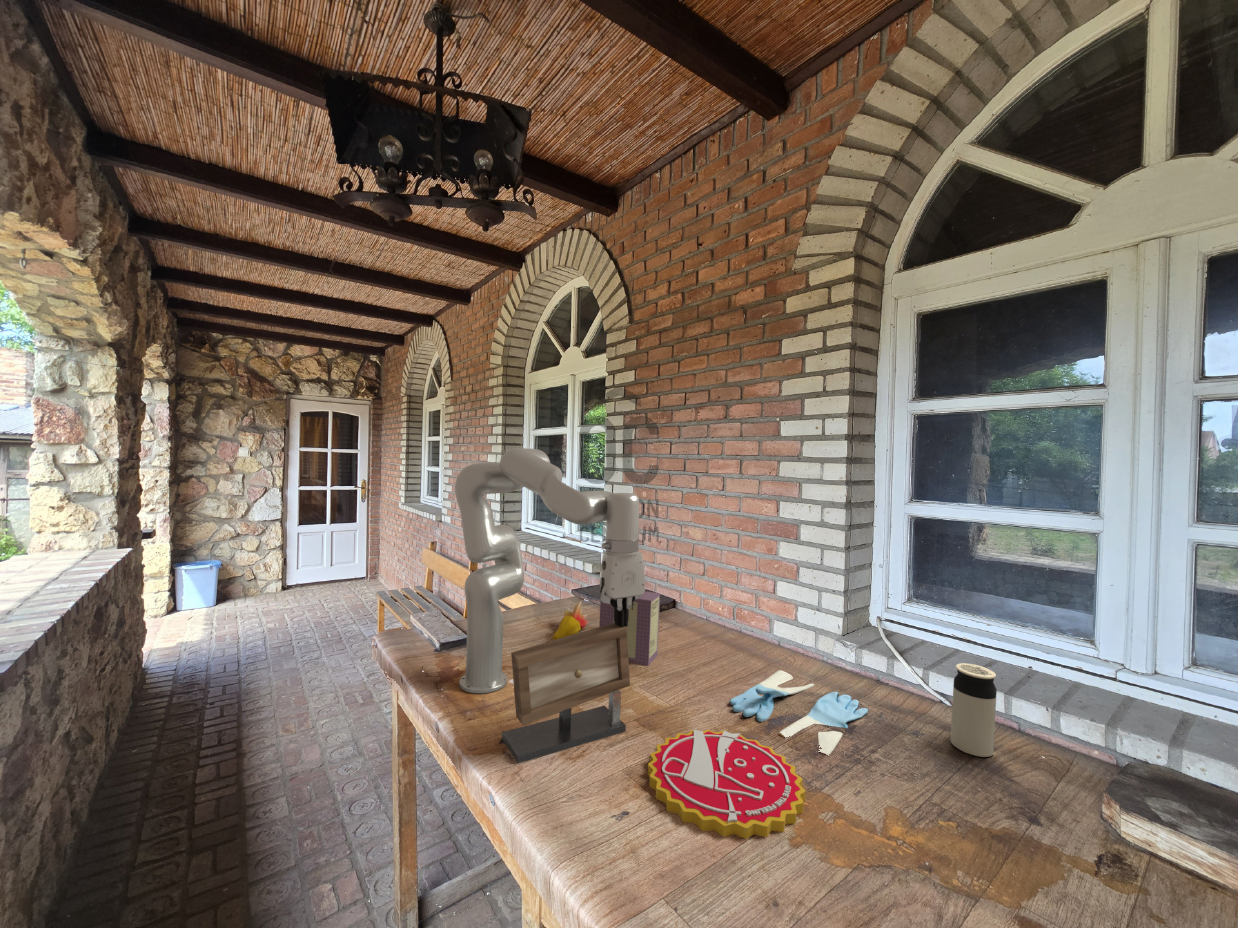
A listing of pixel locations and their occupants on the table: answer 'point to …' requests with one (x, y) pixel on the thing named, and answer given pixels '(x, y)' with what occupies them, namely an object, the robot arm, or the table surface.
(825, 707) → the rubber gloves
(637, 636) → the box
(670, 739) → the decorative sign
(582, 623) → the torch
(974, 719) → the travel mug
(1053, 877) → the table surface
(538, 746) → the pivot stand
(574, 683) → the wooden drawer
